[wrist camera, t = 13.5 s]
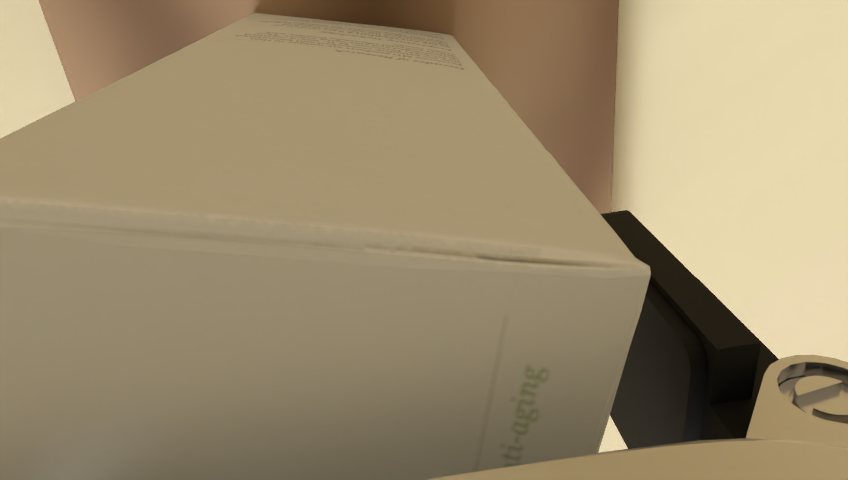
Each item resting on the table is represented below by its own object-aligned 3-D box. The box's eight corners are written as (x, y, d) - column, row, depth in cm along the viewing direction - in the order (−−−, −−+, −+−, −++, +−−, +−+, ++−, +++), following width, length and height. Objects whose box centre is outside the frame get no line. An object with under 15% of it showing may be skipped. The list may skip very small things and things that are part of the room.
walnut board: (181, 323, 25) (167, 353, 23) (39, -91, 18) (4, -93, 17) (590, 268, 26) (607, 293, 24) (600, -155, 19) (625, -164, 17)
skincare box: (424, 261, 23) (517, 791, 9) (238, 248, 22) (10, 813, 8) (458, 21, 19) (712, 275, 5) (236, -6, 18) (-196, 210, 4)
